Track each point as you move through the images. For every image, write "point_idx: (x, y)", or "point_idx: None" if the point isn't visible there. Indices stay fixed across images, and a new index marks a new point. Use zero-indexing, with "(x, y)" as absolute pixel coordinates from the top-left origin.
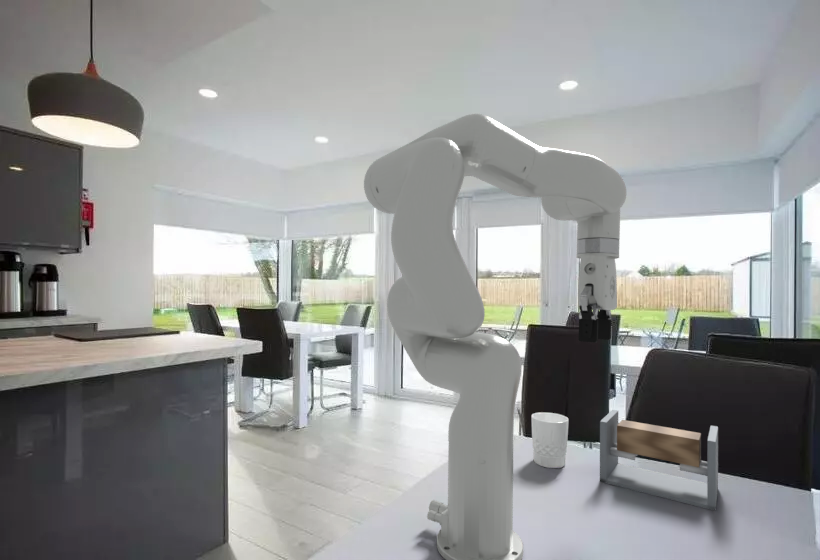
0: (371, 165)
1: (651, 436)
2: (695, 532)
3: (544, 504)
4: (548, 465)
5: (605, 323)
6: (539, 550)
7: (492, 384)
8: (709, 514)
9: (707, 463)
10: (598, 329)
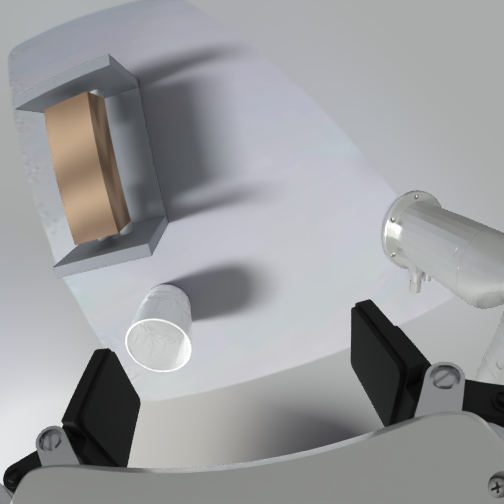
0: None
1: (104, 168)
2: (223, 76)
3: (297, 236)
4: (187, 296)
5: (99, 421)
6: (385, 188)
7: None
8: (155, 80)
9: (121, 74)
10: (124, 417)
